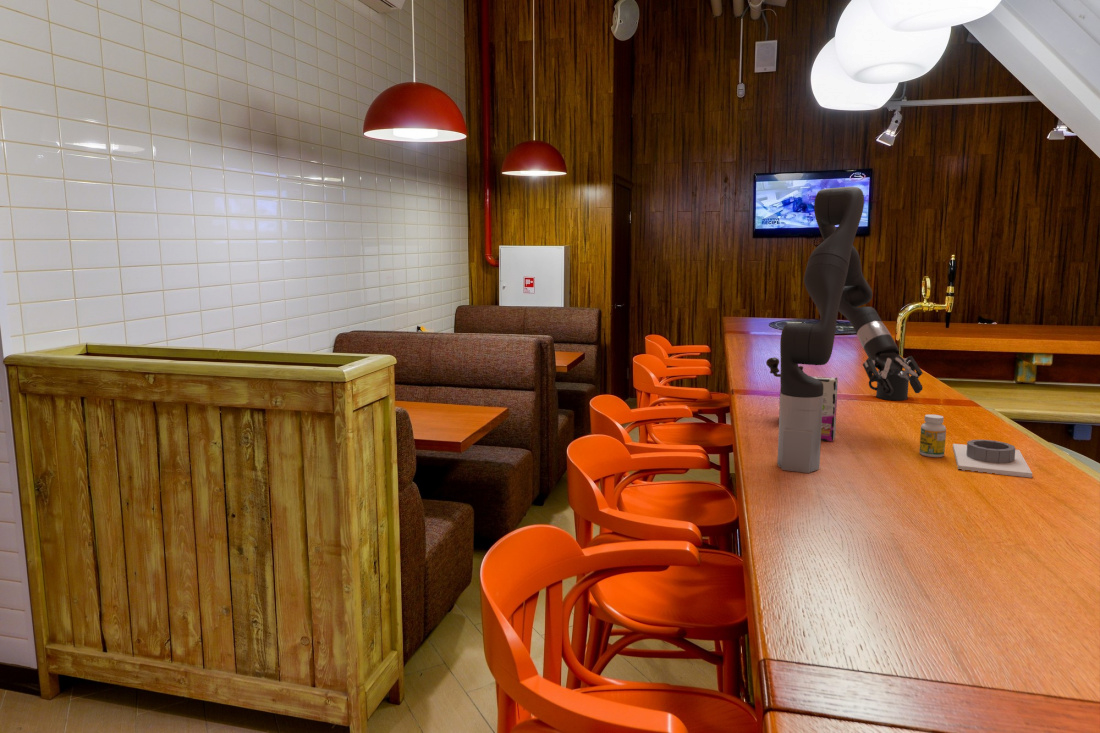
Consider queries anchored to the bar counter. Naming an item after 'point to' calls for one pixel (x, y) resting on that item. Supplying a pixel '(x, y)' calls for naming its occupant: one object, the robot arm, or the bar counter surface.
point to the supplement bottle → (933, 436)
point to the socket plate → (991, 458)
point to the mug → (898, 386)
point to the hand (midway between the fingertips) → (905, 392)
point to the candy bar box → (828, 407)
